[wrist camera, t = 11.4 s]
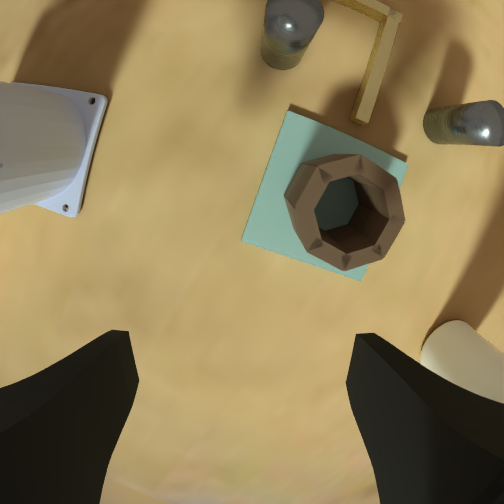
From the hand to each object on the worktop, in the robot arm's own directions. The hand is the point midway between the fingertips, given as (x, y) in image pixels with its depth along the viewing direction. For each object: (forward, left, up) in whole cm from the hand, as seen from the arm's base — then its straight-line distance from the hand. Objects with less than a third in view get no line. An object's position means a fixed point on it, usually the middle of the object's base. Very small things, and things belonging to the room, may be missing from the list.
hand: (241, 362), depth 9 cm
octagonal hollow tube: (+3, +5, -10) cm, 12 cm away
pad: (+3, +5, -10) cm, 12 cm away
